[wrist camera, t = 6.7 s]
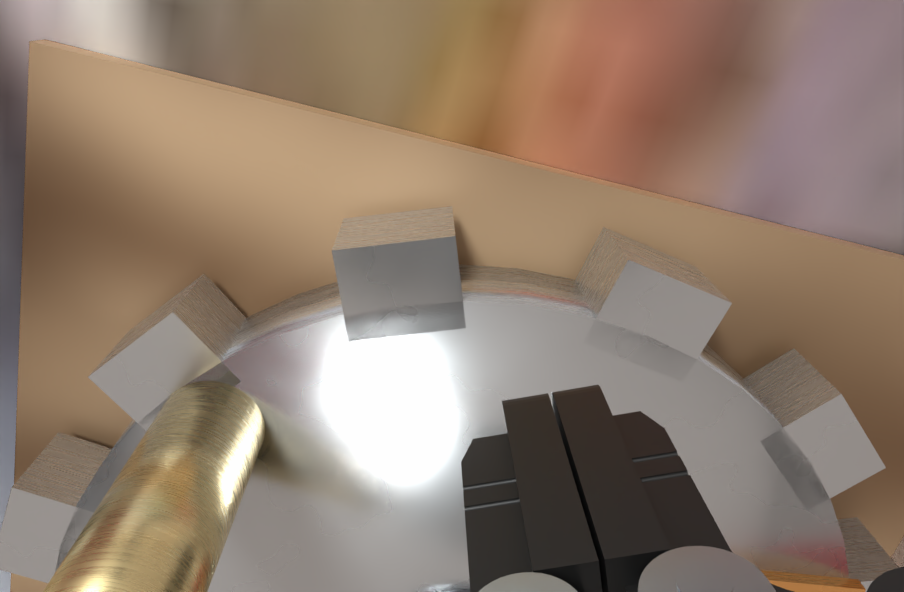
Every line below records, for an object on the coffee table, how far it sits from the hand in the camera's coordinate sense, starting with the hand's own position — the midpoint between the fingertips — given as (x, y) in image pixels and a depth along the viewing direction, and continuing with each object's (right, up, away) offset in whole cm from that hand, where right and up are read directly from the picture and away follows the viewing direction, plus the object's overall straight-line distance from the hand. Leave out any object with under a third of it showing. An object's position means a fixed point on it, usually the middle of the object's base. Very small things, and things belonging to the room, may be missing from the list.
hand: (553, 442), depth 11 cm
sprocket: (-2, -5, +8) cm, 10 cm away
